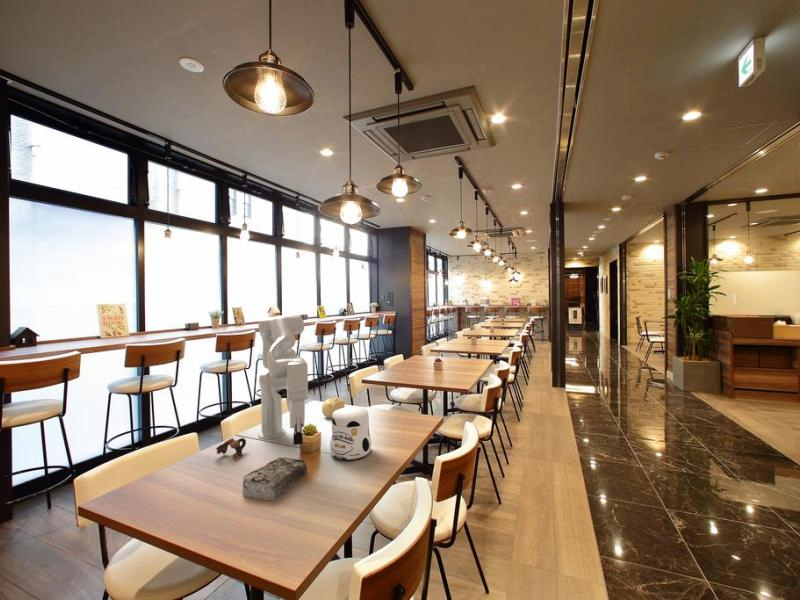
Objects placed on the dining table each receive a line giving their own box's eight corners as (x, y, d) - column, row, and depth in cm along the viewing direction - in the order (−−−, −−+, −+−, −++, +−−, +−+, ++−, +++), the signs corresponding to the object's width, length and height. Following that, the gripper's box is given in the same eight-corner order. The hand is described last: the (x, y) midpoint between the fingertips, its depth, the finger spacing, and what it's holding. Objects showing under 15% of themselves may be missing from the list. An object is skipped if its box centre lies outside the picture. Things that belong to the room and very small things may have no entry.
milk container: (330, 466, 138) (329, 421, 138) (329, 448, 155) (329, 407, 155) (373, 462, 142) (373, 417, 142) (368, 444, 158) (368, 405, 158)
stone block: (278, 473, 136) (240, 499, 117) (278, 454, 136) (239, 477, 117) (308, 475, 132) (273, 503, 112) (307, 456, 132) (273, 480, 113)
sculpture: (334, 421, 189) (334, 401, 189) (317, 417, 195) (317, 398, 195) (347, 415, 199) (347, 396, 199) (331, 412, 205) (331, 393, 205)
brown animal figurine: (229, 464, 141) (219, 446, 141) (219, 469, 146) (209, 451, 146) (254, 446, 151) (245, 430, 151) (243, 451, 156) (234, 435, 156)
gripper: (286, 390, 136) (287, 437, 136) (287, 401, 122) (288, 453, 122) (306, 389, 139) (306, 435, 139) (309, 398, 125) (310, 450, 125)
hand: (298, 443), depth 130 cm, fingers closed
